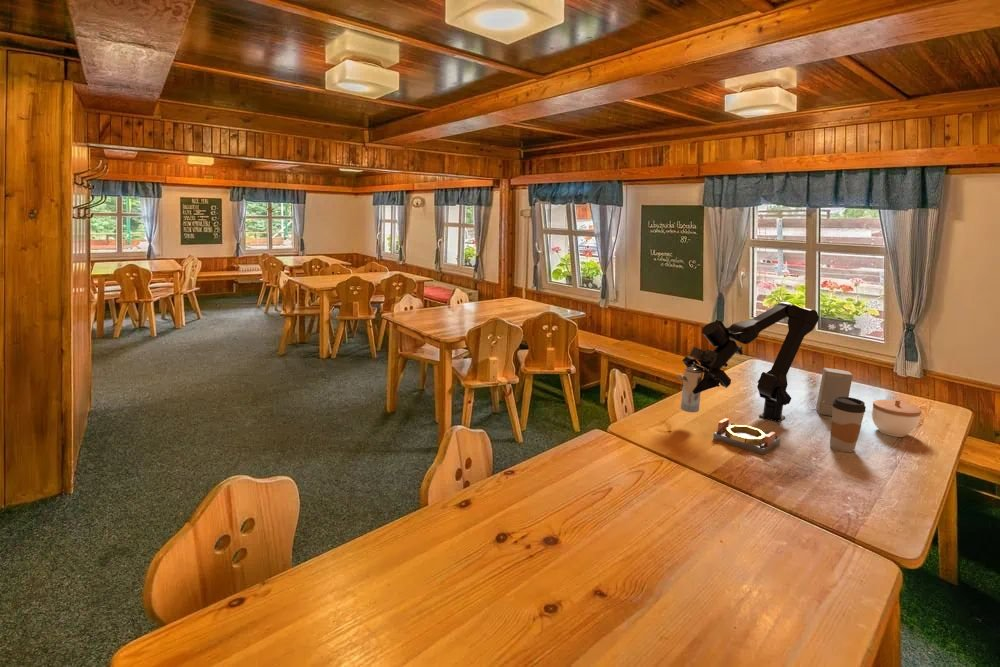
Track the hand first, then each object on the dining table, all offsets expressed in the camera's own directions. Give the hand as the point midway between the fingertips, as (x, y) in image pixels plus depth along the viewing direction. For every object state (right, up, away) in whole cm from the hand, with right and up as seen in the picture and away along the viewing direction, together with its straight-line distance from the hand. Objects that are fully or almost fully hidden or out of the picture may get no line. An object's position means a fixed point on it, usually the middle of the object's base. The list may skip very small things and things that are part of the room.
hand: (688, 390), depth 172 cm
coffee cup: (+42, -16, -11) cm, 47 cm away
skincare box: (+57, -10, +18) cm, 60 cm away
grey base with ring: (+15, -15, -9) cm, 23 cm away
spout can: (0, -6, +1) cm, 7 cm away
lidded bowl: (+67, -14, +1) cm, 68 cm away
